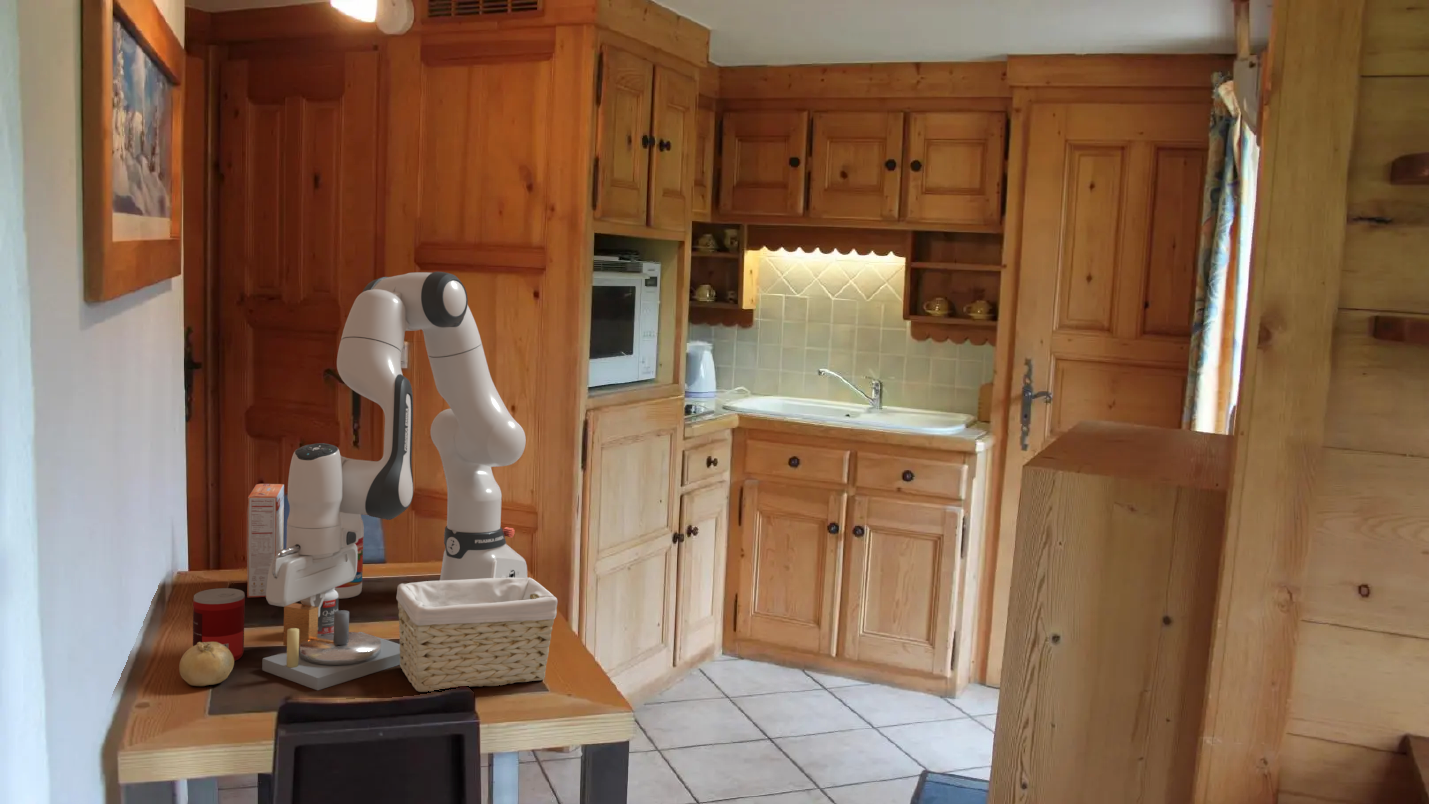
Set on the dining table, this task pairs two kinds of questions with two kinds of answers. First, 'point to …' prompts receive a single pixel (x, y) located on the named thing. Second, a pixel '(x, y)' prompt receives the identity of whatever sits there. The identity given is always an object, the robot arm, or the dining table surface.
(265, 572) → the cracker box
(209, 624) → the canned food
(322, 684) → the post board
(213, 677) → the onion
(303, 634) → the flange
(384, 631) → the dining table surface
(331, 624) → the pill bottle
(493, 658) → the storage basket
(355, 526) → the fruit juice
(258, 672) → the dining table surface
